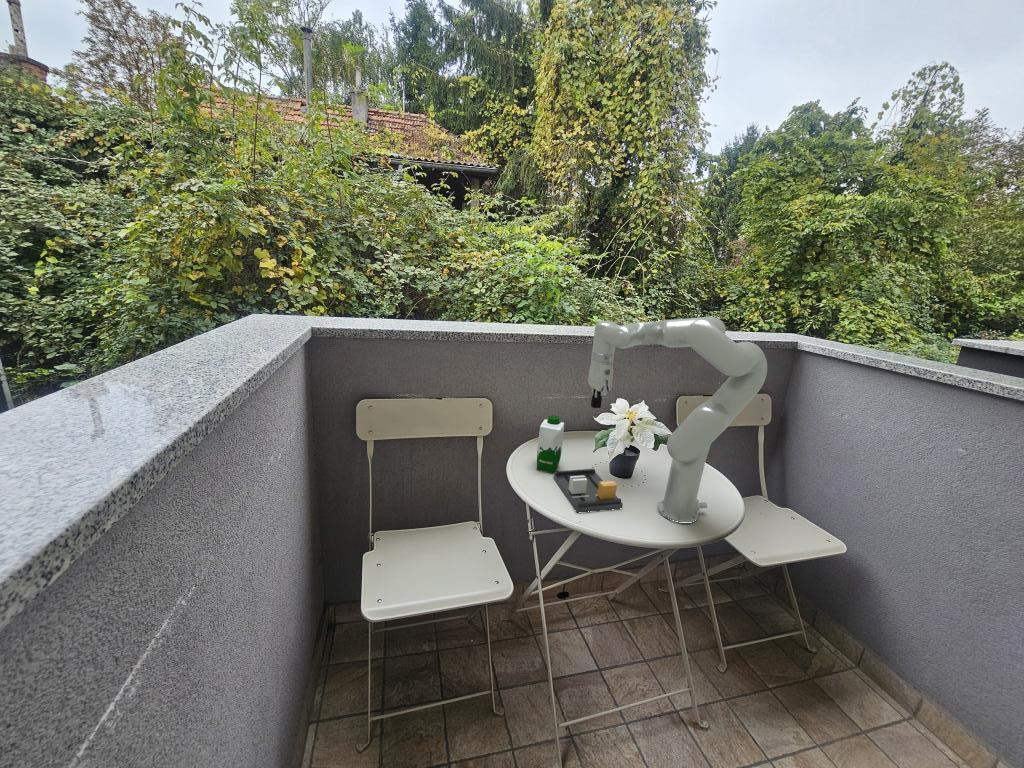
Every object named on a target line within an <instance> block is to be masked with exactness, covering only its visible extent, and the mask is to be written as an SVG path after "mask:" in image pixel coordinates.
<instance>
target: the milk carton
mask: <svg viewBox="0 0 1024 768" xmlns="http://www.w3.org/2000/svg"><path fill="white" fill-rule="evenodd" d="M564 431H565V422H564V421H563V422H562V421H560V417H559V416H557V415H553V414H551V415H549V416H548V419H546V418H545V419H544V420H543V421H542V423H541V424H540V426H539V430H538V433H539V434H538V440H537V450H536V451H537V452H536V470H537V471H541V472H543V473H544V472H545V473H549V474H553V475H554V474H556V471H558V467H559V465H560V463H561V462H560V461H561V456H562V450H563V442H564Z"/></svg>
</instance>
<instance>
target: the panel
mask: <svg viewBox="0 0 1024 768" xmlns="http://www.w3.org/2000/svg"><path fill="white" fill-rule="evenodd" d="M582 475H584V476H585V477H586V479H587V487H586V493H580V494H571V492H570V491H569V482H570V476H582ZM553 480H554V482H556V484H557V485H558V487H559V489H560V490H561V492H562V494H563V495H564V496H565V498H566V500H568V502H569V503H571V504H570V505H571V506H573V507H572V508H573V510H574V511H575V510H576V511H575V512H576V513H577V514H580V513H579V512H586V513H591V512H590V511H596V512H601V511H600V510H606V511H613V510H612V509H617V510H621V509H620V508H622V509H623V506H624V503H623V502H622V498H620V497H618V496H617V495H616V494H615V498H614V499H603V500H601V499H600V498H599V496H598V495H597V493H598V486H599V482H600V481H604V480H603V478H601V477H600V476H599V475H598V473H597V472H596V469H595V468H585V469H569V470H556V472H555V474H554V473H553ZM588 511H589V512H588Z"/></svg>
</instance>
